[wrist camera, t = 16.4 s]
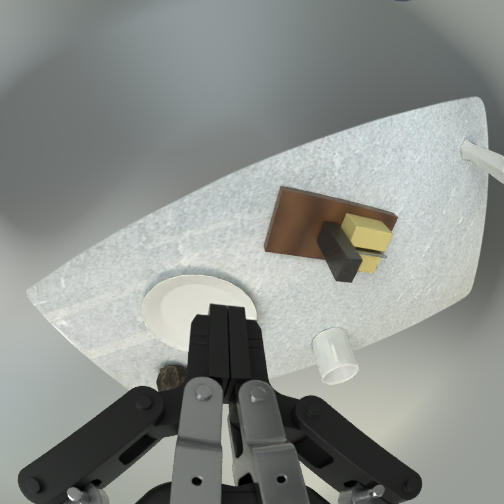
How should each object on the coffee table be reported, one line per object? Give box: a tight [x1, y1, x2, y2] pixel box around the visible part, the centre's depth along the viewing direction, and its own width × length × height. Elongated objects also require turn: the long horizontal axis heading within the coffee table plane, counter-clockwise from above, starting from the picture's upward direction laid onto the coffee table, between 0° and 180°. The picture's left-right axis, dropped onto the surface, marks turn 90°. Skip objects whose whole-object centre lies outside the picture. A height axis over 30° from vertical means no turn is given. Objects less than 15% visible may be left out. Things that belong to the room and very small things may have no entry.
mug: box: [312, 328, 359, 384], centre depth 53 cm, size 8×12×10 cm, turn 21°
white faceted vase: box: [460, 139, 504, 184], centre depth 28 cm, size 5×4×15 cm
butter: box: [341, 213, 393, 273], centre depth 39 cm, size 7×7×4 cm
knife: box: [317, 222, 387, 283], centre depth 37 cm, size 10×4×9 cm, turn 78°
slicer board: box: [264, 186, 398, 260], centre depth 41 cm, size 20×10×2 cm, turn 78°
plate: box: [141, 274, 257, 352], centre depth 48 cm, size 21×21×2 cm
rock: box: [156, 366, 187, 392], centre depth 58 cm, size 10×11×10 cm
